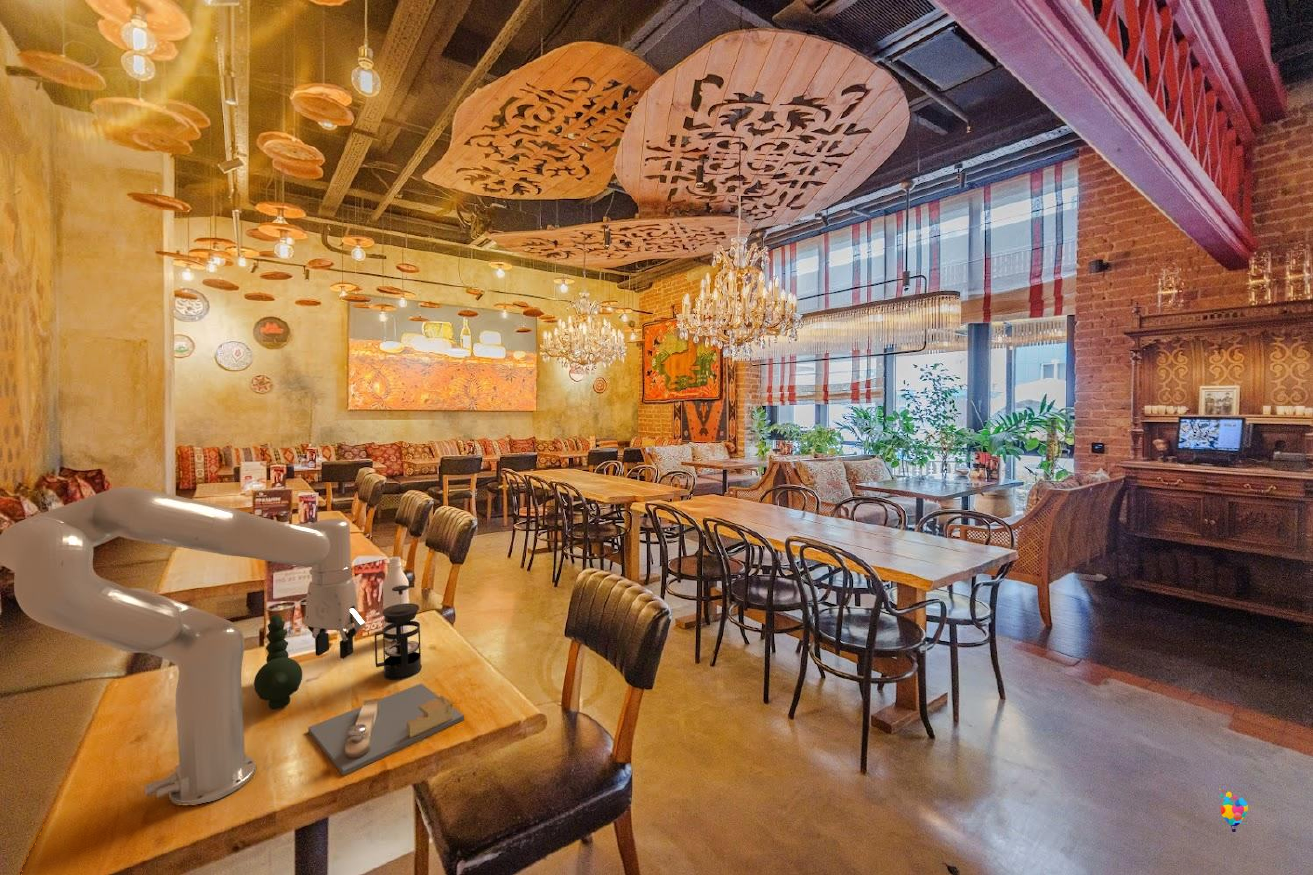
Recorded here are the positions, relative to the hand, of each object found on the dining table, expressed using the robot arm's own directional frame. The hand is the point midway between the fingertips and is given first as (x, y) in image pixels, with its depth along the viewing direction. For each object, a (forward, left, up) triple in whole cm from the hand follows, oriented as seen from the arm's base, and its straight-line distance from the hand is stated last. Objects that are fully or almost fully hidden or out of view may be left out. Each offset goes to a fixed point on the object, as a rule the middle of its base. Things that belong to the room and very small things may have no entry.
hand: (334, 653), depth 122 cm
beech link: (+2, -11, -14) cm, 18 cm away
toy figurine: (-6, +22, -16) cm, 28 cm away
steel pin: (-2, -17, -12) cm, 21 cm away
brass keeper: (+12, -18, -15) cm, 26 cm away
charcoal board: (+7, -11, -16) cm, 20 cm away
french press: (+19, +12, -16) cm, 28 cm away
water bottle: (+27, +33, -16) cm, 46 cm away
